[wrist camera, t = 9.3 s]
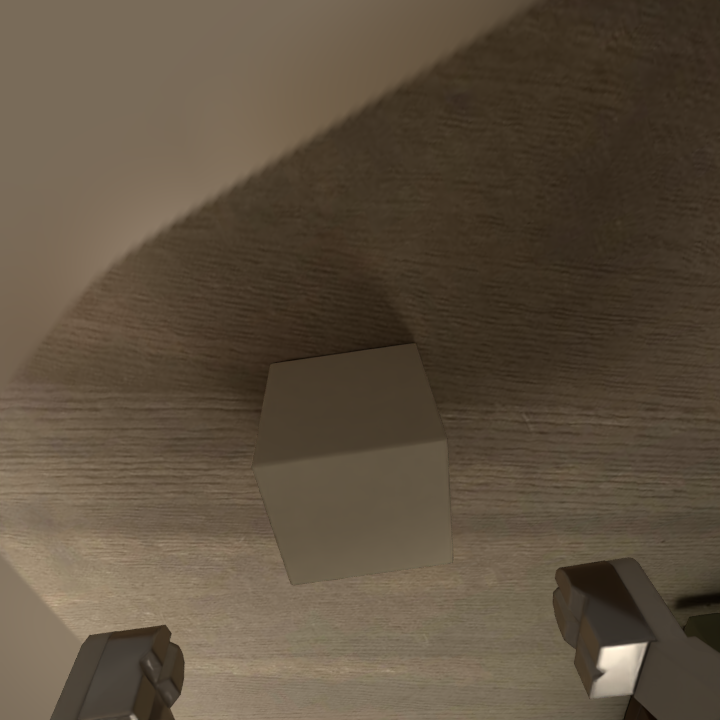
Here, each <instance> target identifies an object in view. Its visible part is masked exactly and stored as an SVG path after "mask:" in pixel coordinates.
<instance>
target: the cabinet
mask: <svg viewBox="0 0 720 720" xmlns="http://www.w3.org/2000/svg"><path fill="white" fill-rule="evenodd" d="M634 695H635V694H633V695H632V697H631V700H630V703H629V707H628V710H627V713H626V716H625V719H624V720H657V719H656V718H655V717H654V716H653V715H652V714H651V713H650V712H649V711H648V710H647V709H646V708H645V707H644V706H643V705H642V704H641V703H640V702H638V701H637V700H636V699H635V698H634Z"/></svg>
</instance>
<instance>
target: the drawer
mask: <svg viewBox="0 0 720 720" xmlns="http://www.w3.org/2000/svg"><path fill="white" fill-rule="evenodd" d="M684 632H685V634H686V635H687V637H693V636H696V637H697V638H699V639H700V640H702V641H703V642H704V643H706V644H707V645H709V646H710V647H712V648H713V649H715V650H716V651H718V652H719V653H720V613H714V614H706V615H699V616H692V617H689V619H688V622H687V624H686V627H685V630H684Z"/></svg>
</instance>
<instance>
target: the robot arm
mask: <svg viewBox="0 0 720 720" xmlns="http://www.w3.org/2000/svg"><path fill="white" fill-rule="evenodd" d="M555 580H556V582H557V584H558V588H557V589H556V590H555V591H554V592H553V607H554V613H555V618H556V621H557V624H558V627H559V629H560V632H561V634H562V637H563V639H564V641H566V642H567V643H568V644H569V645H571V646H572V647H573V648H574V649H576V653H575V659H574V665H575V667H576V669H577V672H578V674H579V676H580V678H581V681H582V683H583V685H584V688H585V690H586V692H587V694H588V697H589V699H597V698H606V697H615V696H624V695H633V694H635V695H634V698H635V699H636V700H637V701H638V702H640V703H641V704H642V705H643V706H644V707H645V708H646V709H647V710H648V711H649V712H650V713H651V714H652V715H653V716H654V717H655V718H656V719H657V720H720V653H719V652H718V651H716V650H715V649H713V648H712V647H710V646H709V645H707V644H706V643H704V642H703V641H702V640H700V639H699V638H697V637H696V636H693V637H687V635H686V634H685V632H684V631H683V629H682V628H681V626H680V625H679V623H678V622H677V620H676V619H675V617H674V616H673V614H672V613H671V611H670V610H669V608H668V607H667V605H666V604H665V602H664V601H663V599H662V597H661V596H660V594H659V593H658V591H657V590H656V588H655V587H654V585H653V584H652V582H651V581H650V579H649V578H648V576H647V575H646V573H645V572H644V570H643V569H642V567H641V566H640V564H639V563H638V562H637V561H636V560H635V559H633V558H629V557H628V558H621V559H615V560H608V561H605V560H604V561H598V562H592V563H586V564H580V565H574V566H568V567H562V568H558V569H557V570H556V574H555ZM171 634H172V633H171V632H170V630H169V629H168V627H167V626H166V625H160V626H153V627H146V628H139V629H132V630H124V631H114V632H107V633H101V634H94V635H89V637H88V638H87V639H86V641H85V642H84V643H83V644H82V646H81V648H80V651H79V653H78V655H77V658H76V660H75V662H74V665H73V667H72V670H71V672H70V674H69V677H68V679H67V681H66V684H65V686H64V688H63V691H62V693H61V695H60V698H59V700H58V702H57V705H56V707H55V709H54V712H53V714H52V716H51V719H50V720H175V719H174V716H173V714H172V711H171V709H170V708H171V706H172V705H173V704H174V702H175V701H176V700H177V699H178V697H179V696H180V695H181V690H182V686H183V681H184V663H185V662H184V658H183V653H182V651H181V649H180V647H179V646H178V645H176V644H174V643H172V642H170V638H171Z"/></svg>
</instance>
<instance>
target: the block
mask: <svg viewBox="0 0 720 720" xmlns="http://www.w3.org/2000/svg"><path fill="white" fill-rule="evenodd" d="M251 467H252V470H253V473H254V476H255V479H256V482H257V485H258V488H259V491H260V494H261V497H262V500H263V503H264V506H265V509H266V512H267V515H268V518H269V521H270V524H271V527H272V530H273V532H274V535H275V538H276V541H277V544H278V547H279V550H280V553H281V556H282V559H283V562H284V565H285V568H286V571H287V574H288V577H289V580H290V583H291V585H300V584H307V583H314V582H322V581H329V580H336V579H343V578H350V577H358V576H365V575H372V574H379V573H386V572H394V571H401V570H408V569H415V568H422V567H430V566H437V565H444V564H451V563H453V541H452V519H451V498H450V477H449V456H448V438H447V435H446V432H445V429H444V426H443V423H442V420H441V417H440V414H439V411H438V408H437V405H436V402H435V399H434V396H433V393H432V390H431V387H430V384H429V381H428V378H427V375H426V372H425V369H424V366H423V363H422V360H421V357H420V354H419V351H418V348H417V345H416V344H415V343H411V344H404V345H397V346H390V347H383V348H376V349H369V350H362V351H355V352H349V353H342V354H335V355H328V356H321V357H314V358H307V359H300V360H293V361H287V362H280V363H273V364H271V365H270V368H269V374H268V379H267V385H266V390H265V395H264V401H263V406H262V412H261V417H260V423H259V428H258V434H257V439H256V445H255V450H254V455H253V461H252V466H251Z"/></svg>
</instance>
